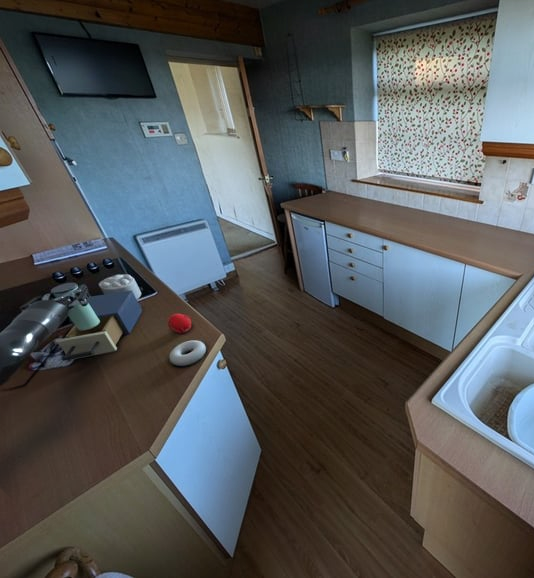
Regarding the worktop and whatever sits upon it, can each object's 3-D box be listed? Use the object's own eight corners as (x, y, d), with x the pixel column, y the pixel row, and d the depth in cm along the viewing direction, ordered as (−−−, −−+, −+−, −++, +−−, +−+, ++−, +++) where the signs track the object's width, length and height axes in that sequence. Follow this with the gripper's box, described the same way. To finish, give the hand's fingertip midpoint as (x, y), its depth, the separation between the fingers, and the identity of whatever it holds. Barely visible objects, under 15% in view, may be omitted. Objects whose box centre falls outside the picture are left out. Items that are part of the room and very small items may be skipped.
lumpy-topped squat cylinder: (132, 286, 129) (123, 269, 124) (147, 295, 123) (138, 277, 119) (103, 298, 121) (93, 280, 117) (118, 307, 116) (107, 289, 111)
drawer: (108, 363, 90) (96, 345, 86) (60, 373, 86) (45, 354, 82) (130, 325, 105) (120, 309, 101) (90, 332, 101) (78, 315, 98)
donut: (185, 372, 88) (214, 351, 96) (181, 364, 87) (210, 343, 94) (164, 362, 92) (193, 342, 100) (160, 354, 90) (190, 334, 98)
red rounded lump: (198, 327, 106) (192, 314, 103) (182, 337, 102) (176, 323, 98) (183, 321, 109) (177, 308, 106) (167, 330, 104) (161, 317, 101)
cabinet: (129, 333, 103) (117, 312, 98) (84, 342, 99) (69, 320, 94) (142, 310, 114) (132, 290, 110) (102, 317, 111) (89, 296, 106)
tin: (73, 332, 90) (46, 293, 82) (82, 321, 94) (57, 284, 87) (95, 328, 91) (71, 290, 84) (103, 318, 96) (80, 281, 88)
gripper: (12, 338, 75) (49, 303, 88) (82, 326, 79) (107, 294, 93) (-9, 315, 71) (34, 282, 84) (66, 303, 75) (95, 274, 89)
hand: (72, 288), depth 88 cm, fingers closed on tin, 5 cm apart
